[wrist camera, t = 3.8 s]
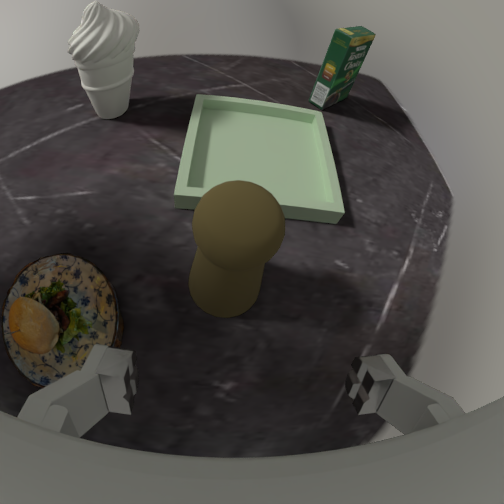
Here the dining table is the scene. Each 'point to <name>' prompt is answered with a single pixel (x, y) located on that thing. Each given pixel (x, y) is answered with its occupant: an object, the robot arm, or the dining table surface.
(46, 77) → the dining table surface
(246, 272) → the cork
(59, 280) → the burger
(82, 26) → the soft serve ice cream cone
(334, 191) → the tray
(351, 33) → the coffee box
